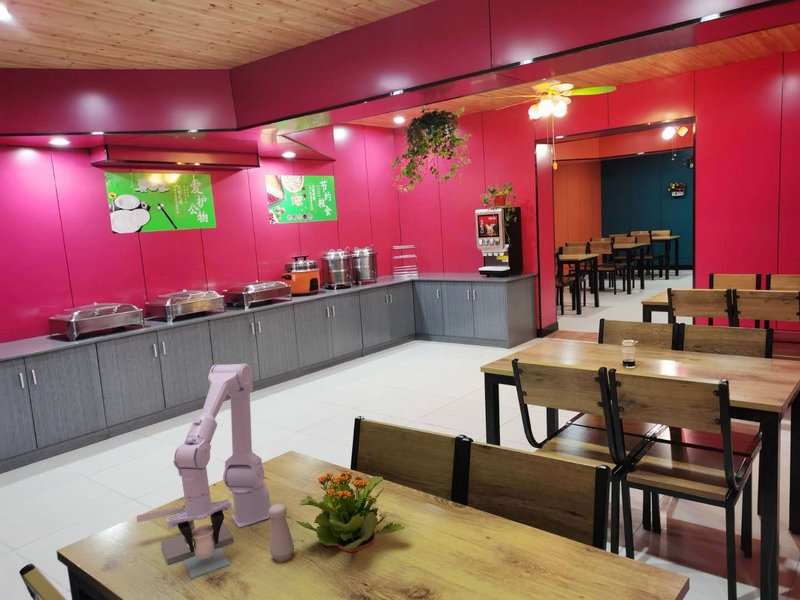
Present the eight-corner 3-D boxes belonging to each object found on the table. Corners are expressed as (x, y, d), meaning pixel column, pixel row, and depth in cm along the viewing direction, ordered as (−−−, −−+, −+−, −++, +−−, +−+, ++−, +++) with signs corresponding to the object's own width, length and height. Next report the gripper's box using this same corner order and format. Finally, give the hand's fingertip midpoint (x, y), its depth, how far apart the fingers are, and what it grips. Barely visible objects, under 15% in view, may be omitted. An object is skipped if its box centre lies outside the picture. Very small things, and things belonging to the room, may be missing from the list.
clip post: (194, 529, 157) (191, 507, 156) (195, 532, 155) (192, 510, 154) (186, 531, 156) (183, 510, 155) (188, 535, 154) (185, 513, 153)
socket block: (223, 526, 157) (223, 521, 157) (233, 542, 148) (232, 536, 148) (161, 547, 149) (160, 542, 149) (167, 565, 140) (167, 559, 140)
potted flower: (421, 526, 148) (416, 461, 146) (380, 580, 127) (372, 505, 125) (338, 513, 159) (331, 453, 156) (286, 561, 137) (278, 491, 135)
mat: (220, 548, 146) (220, 547, 146) (229, 565, 138) (229, 563, 138) (183, 561, 141) (183, 560, 141) (191, 579, 133) (190, 577, 133)
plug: (213, 545, 143) (210, 522, 142) (218, 554, 138) (215, 531, 138) (191, 552, 140) (188, 529, 139) (196, 562, 136) (193, 539, 135)
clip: (192, 506, 156) (192, 502, 156) (192, 510, 154) (192, 506, 154) (138, 519, 152) (137, 515, 152) (137, 523, 149) (136, 519, 149)
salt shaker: (289, 564, 136) (283, 512, 134) (266, 563, 137) (260, 512, 136) (298, 550, 142) (292, 500, 140) (276, 550, 143) (270, 500, 141)
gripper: (167, 508, 130) (175, 564, 132) (231, 489, 137) (238, 542, 139) (162, 497, 136) (170, 551, 138) (224, 479, 144) (230, 530, 145)
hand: (204, 546), depth 139 cm, fingers closed on plug, 5 cm apart
